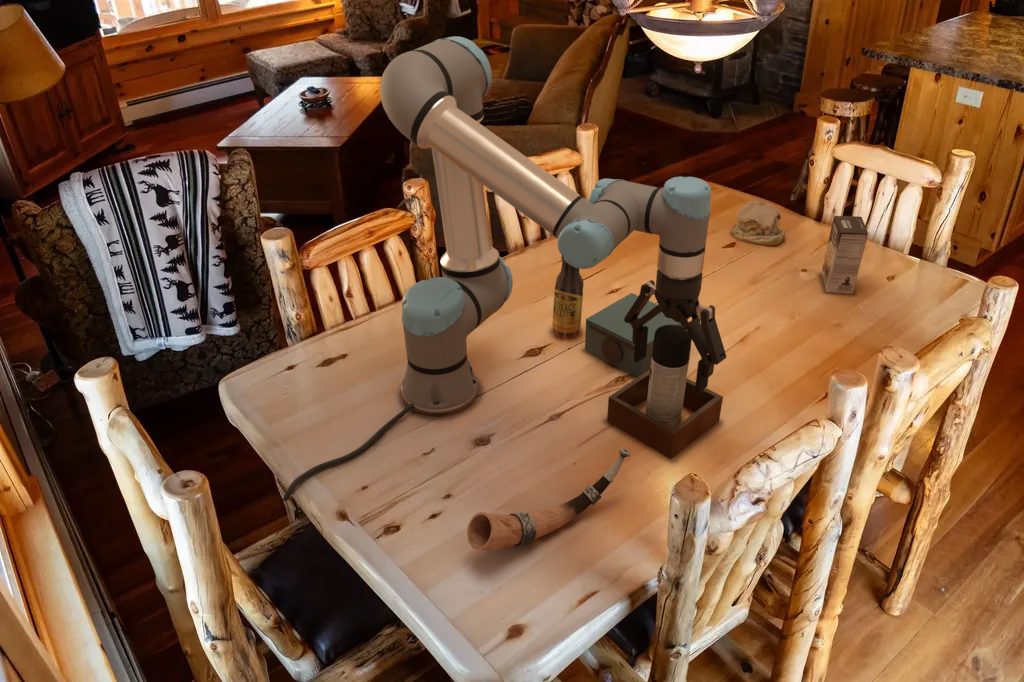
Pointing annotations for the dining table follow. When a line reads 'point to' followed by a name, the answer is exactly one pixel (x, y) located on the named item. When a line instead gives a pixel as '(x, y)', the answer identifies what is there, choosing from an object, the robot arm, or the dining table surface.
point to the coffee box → (844, 254)
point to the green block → (622, 335)
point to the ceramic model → (758, 224)
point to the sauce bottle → (567, 301)
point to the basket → (652, 429)
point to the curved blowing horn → (535, 517)
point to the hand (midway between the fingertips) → (669, 373)
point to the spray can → (668, 374)
